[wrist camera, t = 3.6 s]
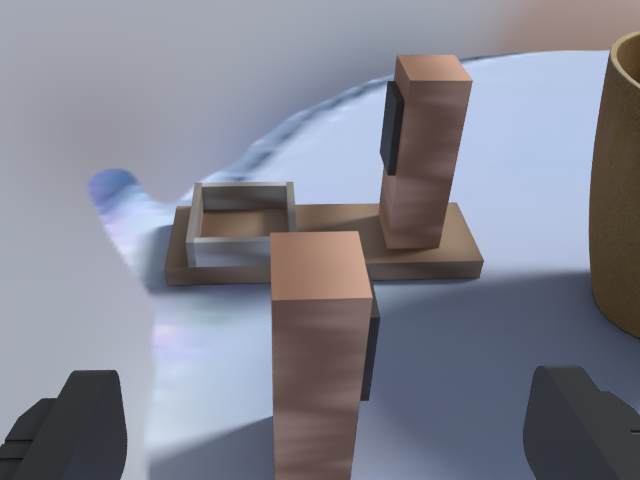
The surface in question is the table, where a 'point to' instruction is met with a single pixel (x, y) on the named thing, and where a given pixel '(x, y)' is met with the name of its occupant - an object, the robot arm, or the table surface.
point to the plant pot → (617, 190)
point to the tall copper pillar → (319, 351)
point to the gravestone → (368, 219)
